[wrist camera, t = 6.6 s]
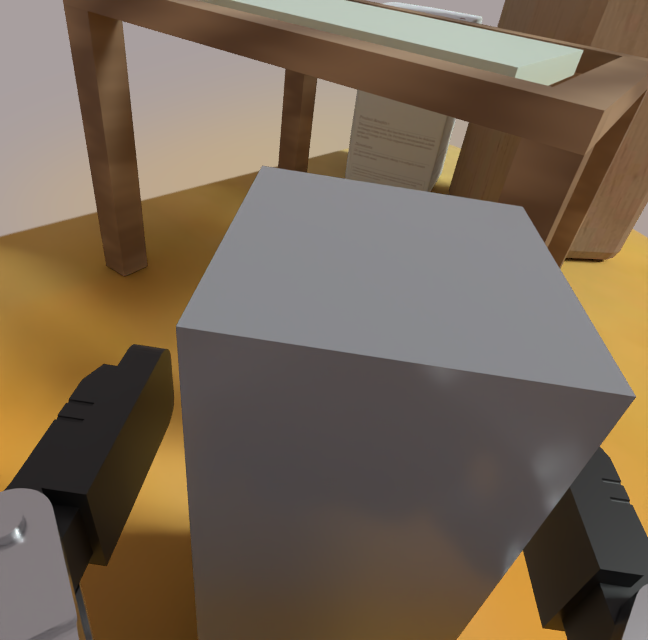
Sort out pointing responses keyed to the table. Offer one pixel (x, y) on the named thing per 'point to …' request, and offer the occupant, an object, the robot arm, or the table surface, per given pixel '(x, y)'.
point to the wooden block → (570, 26)
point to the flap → (423, 36)
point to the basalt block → (378, 409)
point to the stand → (369, 76)
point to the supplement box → (399, 134)
